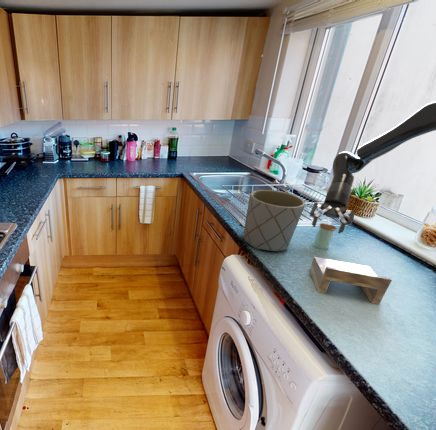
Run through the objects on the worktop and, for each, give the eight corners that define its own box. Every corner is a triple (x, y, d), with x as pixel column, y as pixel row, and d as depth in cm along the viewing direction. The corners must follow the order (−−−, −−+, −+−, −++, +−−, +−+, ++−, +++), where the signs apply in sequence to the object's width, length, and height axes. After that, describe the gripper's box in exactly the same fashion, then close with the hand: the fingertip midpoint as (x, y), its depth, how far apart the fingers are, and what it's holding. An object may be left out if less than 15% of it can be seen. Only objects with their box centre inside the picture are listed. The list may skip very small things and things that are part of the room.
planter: (276, 232, 127) (288, 190, 119) (300, 255, 110) (316, 208, 102) (233, 231, 128) (242, 188, 119) (250, 254, 110) (262, 206, 102)
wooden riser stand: (363, 281, 96) (373, 258, 92) (379, 304, 86) (392, 280, 82) (308, 270, 101) (316, 249, 97) (318, 291, 91) (327, 268, 87)
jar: (326, 243, 119) (333, 224, 115) (330, 250, 114) (338, 230, 110) (311, 241, 120) (318, 222, 117) (314, 247, 116) (321, 228, 112)
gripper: (319, 187, 120) (307, 220, 116) (361, 195, 112) (350, 231, 109) (316, 195, 126) (305, 227, 122) (356, 203, 118) (346, 238, 115)
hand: (326, 229), depth 115 cm, fingers open, 8 cm apart
